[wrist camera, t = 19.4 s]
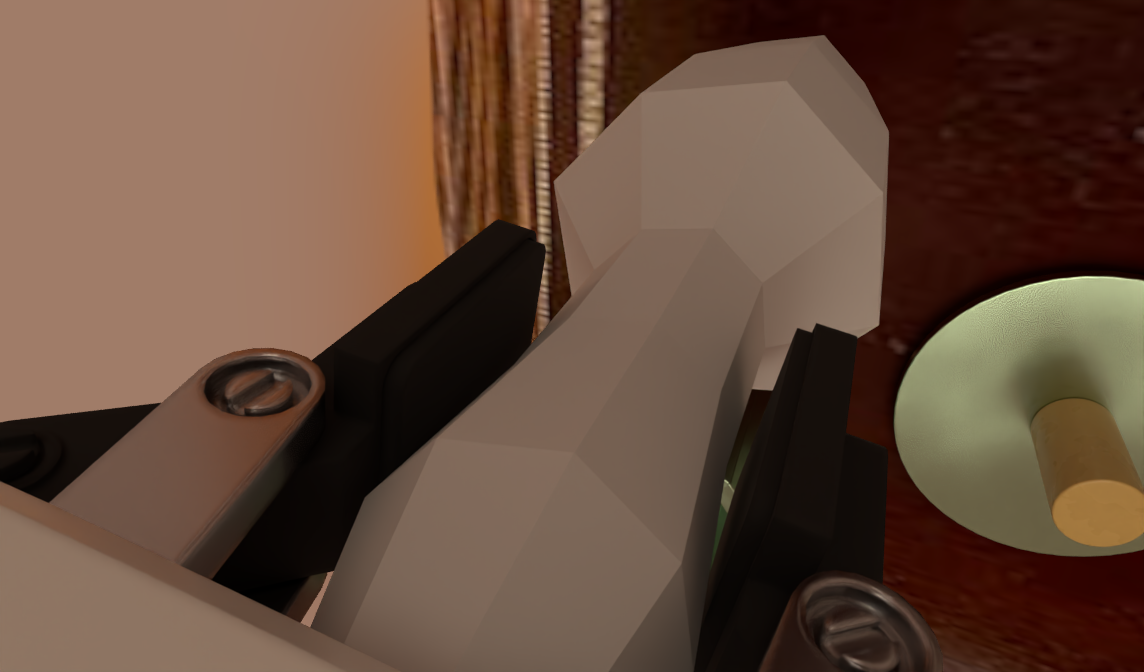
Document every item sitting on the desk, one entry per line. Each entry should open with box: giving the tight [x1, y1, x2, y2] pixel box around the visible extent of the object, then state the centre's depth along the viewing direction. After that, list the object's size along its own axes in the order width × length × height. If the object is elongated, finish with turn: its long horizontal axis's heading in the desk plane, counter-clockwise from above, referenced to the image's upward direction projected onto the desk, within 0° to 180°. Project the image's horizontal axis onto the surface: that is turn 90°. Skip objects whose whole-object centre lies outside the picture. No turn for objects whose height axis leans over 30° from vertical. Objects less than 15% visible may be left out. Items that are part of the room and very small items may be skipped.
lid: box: [893, 271, 1144, 557], centre depth 30 cm, size 14×14×7 cm
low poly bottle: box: [310, 35, 889, 672], centre depth 15 cm, size 6×6×22 cm
